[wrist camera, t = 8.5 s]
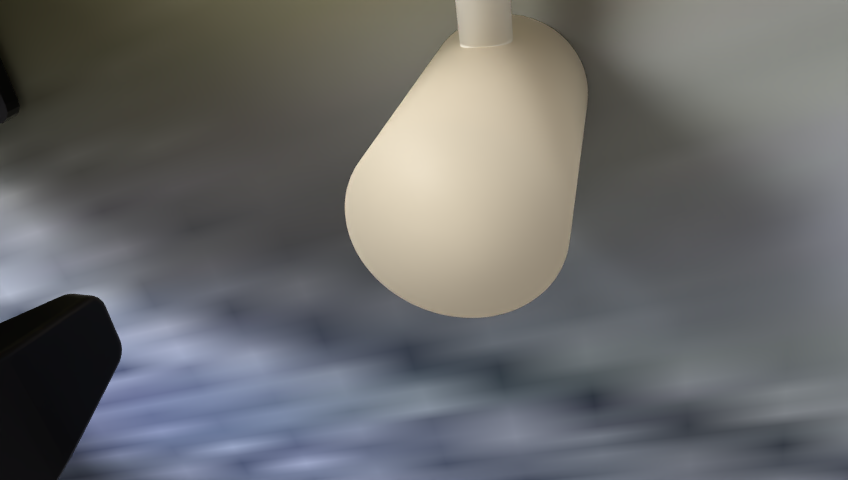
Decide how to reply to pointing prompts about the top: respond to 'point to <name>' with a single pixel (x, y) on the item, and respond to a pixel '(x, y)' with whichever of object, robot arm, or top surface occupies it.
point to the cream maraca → (476, 169)
